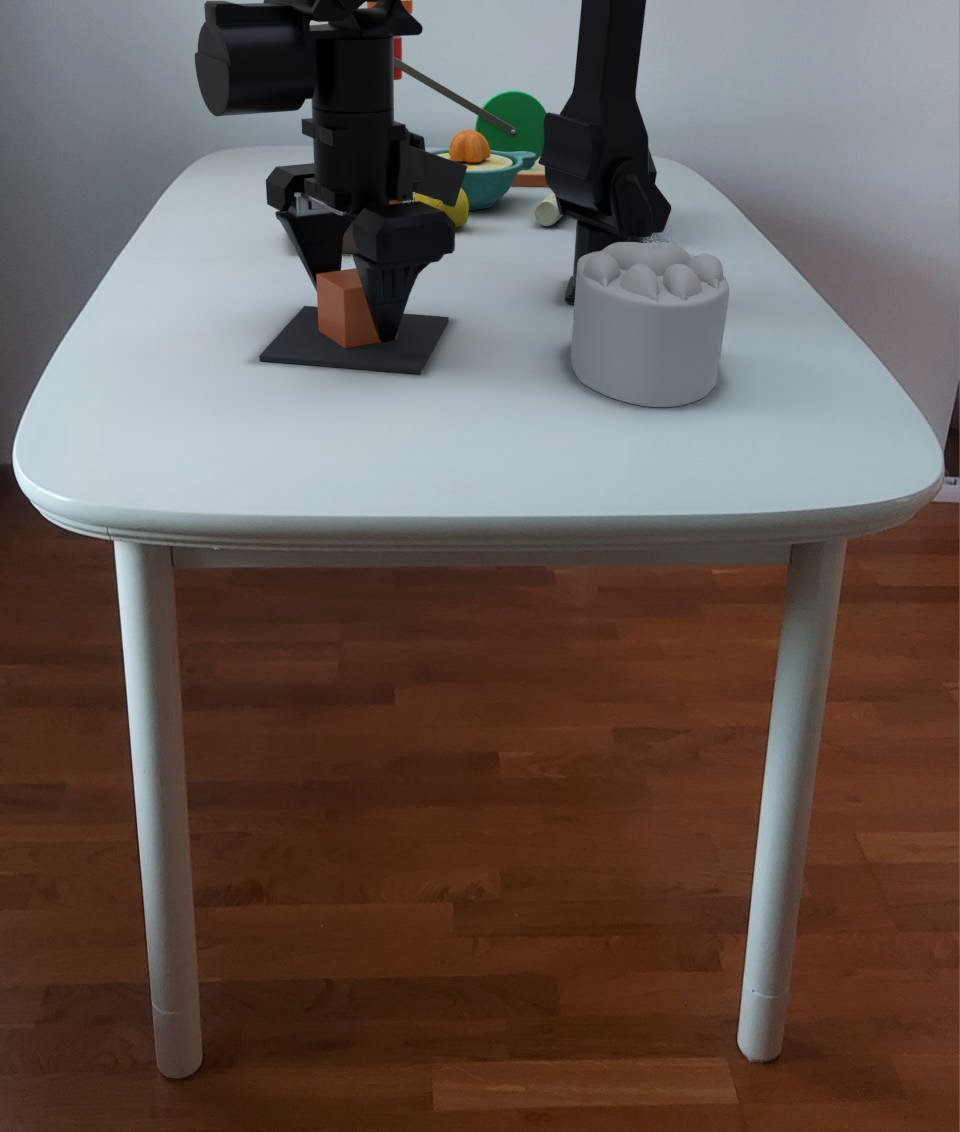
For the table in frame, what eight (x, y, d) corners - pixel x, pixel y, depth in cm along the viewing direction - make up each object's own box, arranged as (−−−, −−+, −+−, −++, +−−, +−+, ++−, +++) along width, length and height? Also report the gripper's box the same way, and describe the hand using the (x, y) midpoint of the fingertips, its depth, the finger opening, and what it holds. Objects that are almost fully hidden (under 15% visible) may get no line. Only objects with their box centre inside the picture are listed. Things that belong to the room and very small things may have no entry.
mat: (420, 374, 85) (420, 369, 84) (259, 360, 86) (258, 355, 86) (448, 321, 95) (448, 316, 95) (304, 310, 96) (304, 305, 96)
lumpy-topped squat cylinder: (694, 343, 92) (709, 232, 88) (735, 407, 81) (754, 284, 77) (563, 342, 91) (571, 230, 87) (586, 406, 80) (596, 282, 76)
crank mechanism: (359, 183, 137) (356, 0, 127) (361, 170, 142) (358, -6, 132) (573, 187, 138) (585, 6, 128) (566, 174, 144) (577, 0, 134)
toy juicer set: (330, 232, 118) (327, 150, 114) (340, 190, 133) (338, 117, 129) (614, 236, 119) (621, 157, 115) (591, 194, 135) (596, 123, 131)
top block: (397, 339, 90) (397, 281, 87) (345, 348, 88) (343, 289, 85) (369, 322, 93) (368, 265, 91) (318, 331, 91) (315, 273, 89)
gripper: (524, 121, 79) (513, 342, 87) (388, 81, 92) (390, 276, 100) (378, 133, 74) (381, 368, 82) (257, 89, 87) (269, 295, 95)
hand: (357, 322), depth 90 cm, fingers open, 9 cm apart
